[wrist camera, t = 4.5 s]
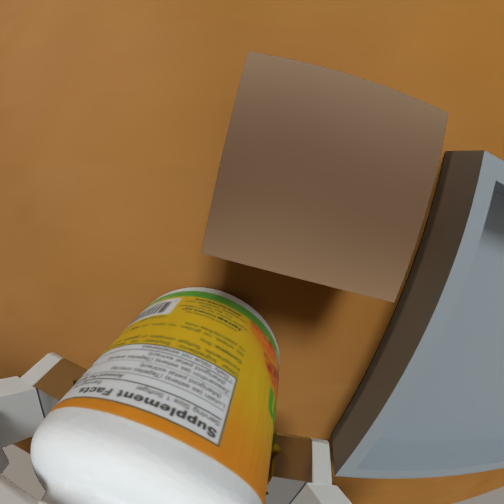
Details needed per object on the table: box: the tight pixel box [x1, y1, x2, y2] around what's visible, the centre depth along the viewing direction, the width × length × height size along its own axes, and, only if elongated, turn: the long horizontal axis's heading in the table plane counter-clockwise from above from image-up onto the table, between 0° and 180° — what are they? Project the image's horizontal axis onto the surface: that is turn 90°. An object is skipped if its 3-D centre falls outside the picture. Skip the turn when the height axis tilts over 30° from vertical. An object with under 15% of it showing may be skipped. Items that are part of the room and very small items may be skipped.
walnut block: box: [202, 51, 448, 303], centre depth 7 cm, size 4×4×4 cm
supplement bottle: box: [31, 287, 280, 504], centre depth 7 cm, size 5×5×10 cm
